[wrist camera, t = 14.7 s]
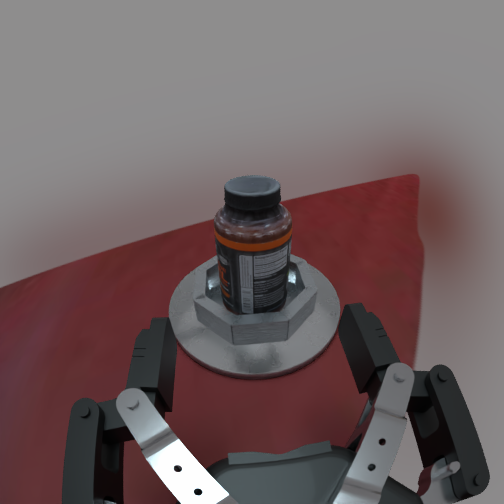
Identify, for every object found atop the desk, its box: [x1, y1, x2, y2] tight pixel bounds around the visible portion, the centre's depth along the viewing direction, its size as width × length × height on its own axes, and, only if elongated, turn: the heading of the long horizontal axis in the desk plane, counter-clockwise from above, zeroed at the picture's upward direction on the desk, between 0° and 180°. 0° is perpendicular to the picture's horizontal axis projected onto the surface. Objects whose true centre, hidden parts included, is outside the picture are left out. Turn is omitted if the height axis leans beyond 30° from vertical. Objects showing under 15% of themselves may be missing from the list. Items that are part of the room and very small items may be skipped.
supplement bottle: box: [214, 175, 292, 315], centre depth 23 cm, size 6×6×11 cm
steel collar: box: [169, 254, 340, 379], centre depth 26 cm, size 16×16×4 cm
